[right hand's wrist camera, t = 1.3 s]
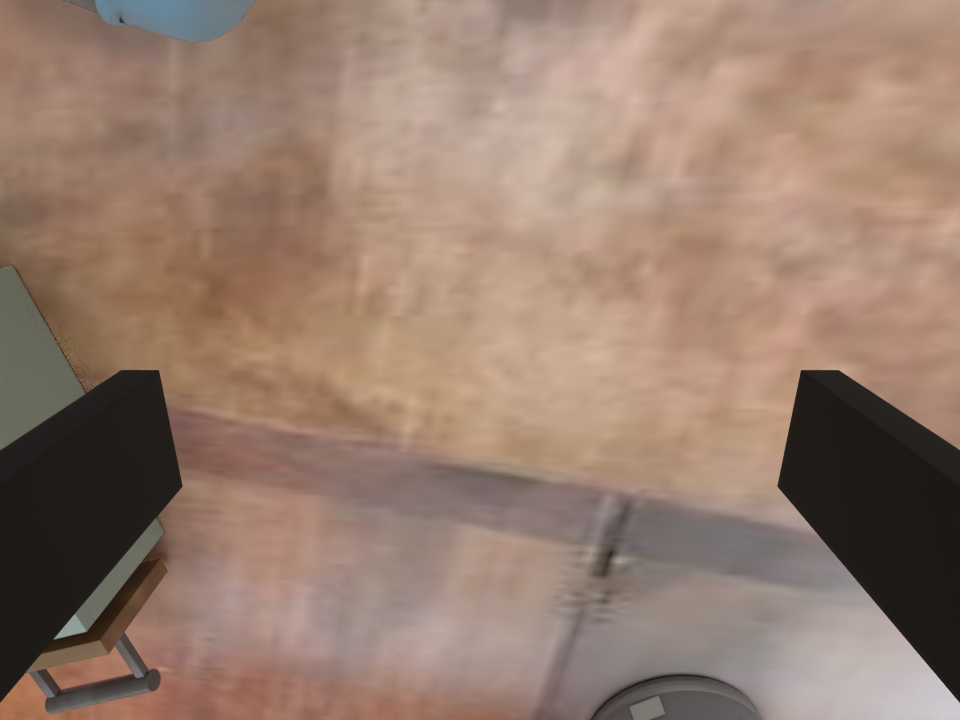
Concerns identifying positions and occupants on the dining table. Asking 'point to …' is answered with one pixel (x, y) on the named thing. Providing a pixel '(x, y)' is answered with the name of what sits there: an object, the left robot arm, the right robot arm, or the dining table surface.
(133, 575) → the drawer
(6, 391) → the green drawer casing
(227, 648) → the dining table surface
